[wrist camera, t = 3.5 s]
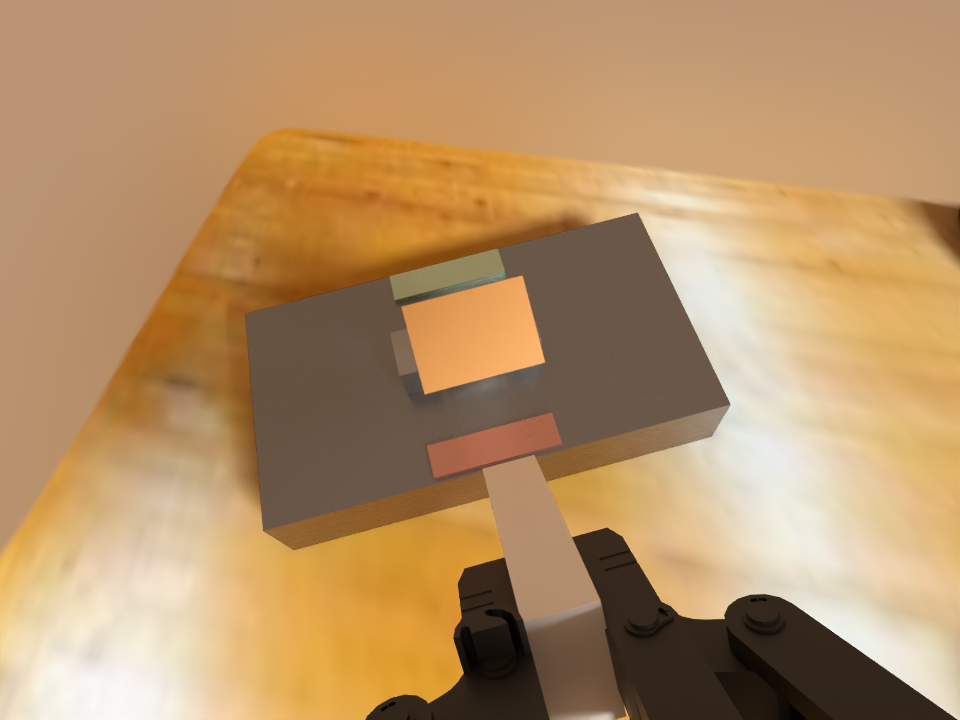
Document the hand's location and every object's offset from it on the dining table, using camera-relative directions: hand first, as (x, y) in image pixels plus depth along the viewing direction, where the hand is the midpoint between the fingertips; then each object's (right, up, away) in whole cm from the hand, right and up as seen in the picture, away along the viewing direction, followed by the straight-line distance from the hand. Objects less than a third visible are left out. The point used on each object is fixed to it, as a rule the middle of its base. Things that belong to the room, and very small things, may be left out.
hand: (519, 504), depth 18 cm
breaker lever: (-2, +5, +14) cm, 15 cm away
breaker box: (-1, +2, +18) cm, 18 cm away
